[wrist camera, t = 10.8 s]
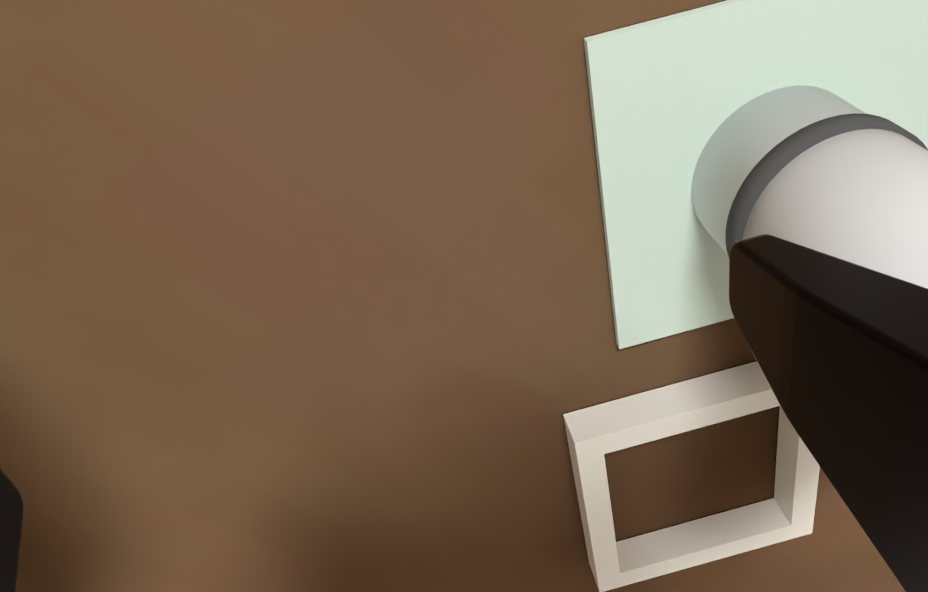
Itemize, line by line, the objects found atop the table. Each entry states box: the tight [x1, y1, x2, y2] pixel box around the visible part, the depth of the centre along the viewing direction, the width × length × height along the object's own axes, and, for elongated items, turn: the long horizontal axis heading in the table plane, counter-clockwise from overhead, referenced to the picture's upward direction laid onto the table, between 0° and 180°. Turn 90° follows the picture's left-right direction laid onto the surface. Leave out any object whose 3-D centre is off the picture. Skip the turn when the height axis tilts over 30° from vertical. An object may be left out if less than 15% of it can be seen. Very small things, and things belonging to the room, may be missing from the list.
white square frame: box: [563, 361, 820, 592], centre depth 31 cm, size 10×10×2 cm
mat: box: [584, 0, 928, 349], centre depth 24 cm, size 11×11×1 cm
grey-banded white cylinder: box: [692, 85, 928, 289], centre depth 18 cm, size 6×6×13 cm
